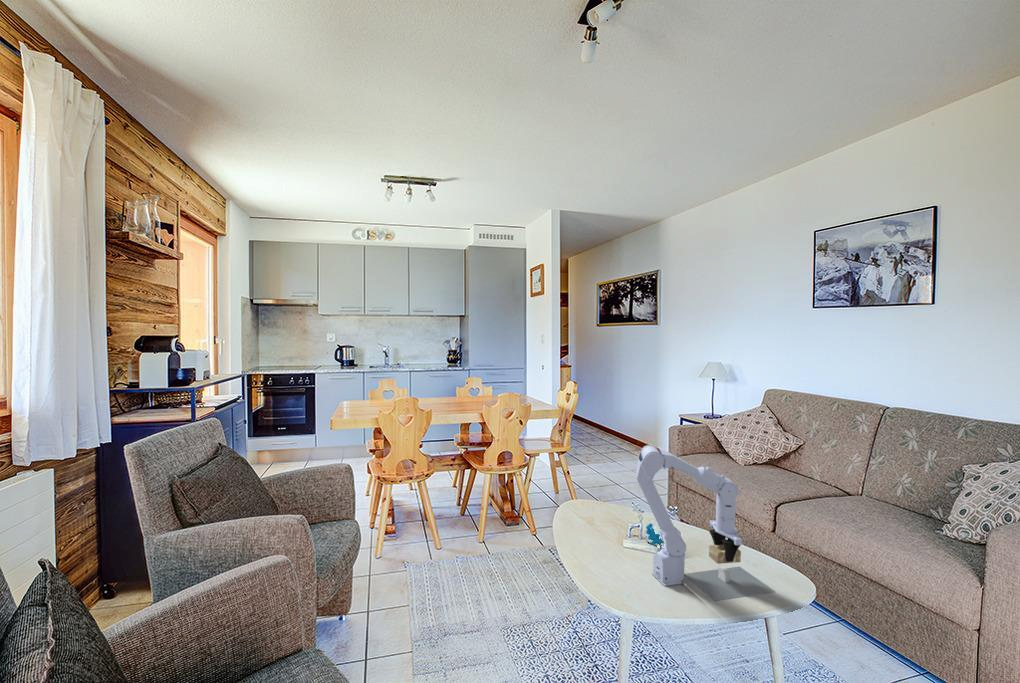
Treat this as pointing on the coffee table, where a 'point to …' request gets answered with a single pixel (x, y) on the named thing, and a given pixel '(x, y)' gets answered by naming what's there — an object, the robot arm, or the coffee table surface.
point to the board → (728, 583)
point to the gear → (653, 535)
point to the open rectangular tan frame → (722, 554)
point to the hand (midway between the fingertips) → (724, 557)
